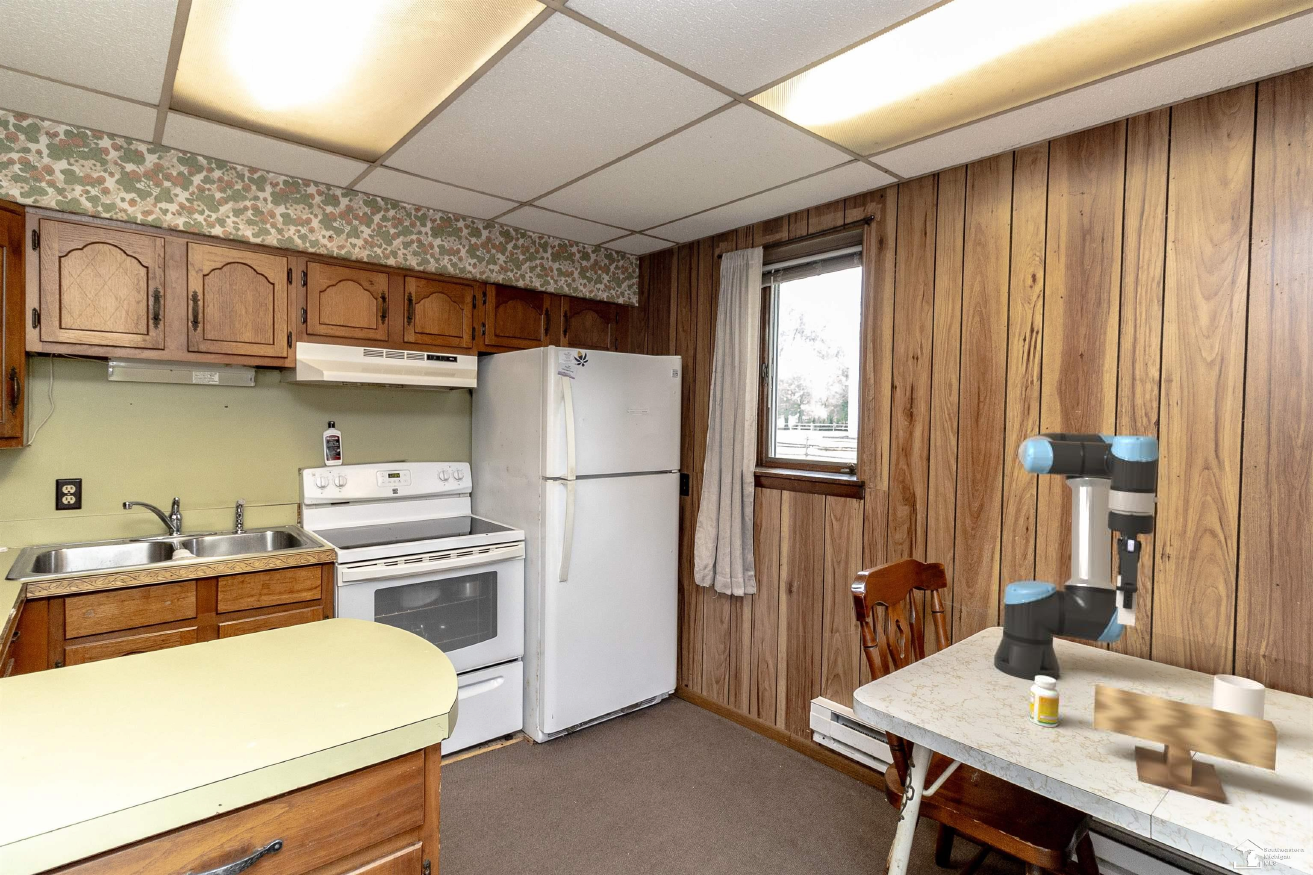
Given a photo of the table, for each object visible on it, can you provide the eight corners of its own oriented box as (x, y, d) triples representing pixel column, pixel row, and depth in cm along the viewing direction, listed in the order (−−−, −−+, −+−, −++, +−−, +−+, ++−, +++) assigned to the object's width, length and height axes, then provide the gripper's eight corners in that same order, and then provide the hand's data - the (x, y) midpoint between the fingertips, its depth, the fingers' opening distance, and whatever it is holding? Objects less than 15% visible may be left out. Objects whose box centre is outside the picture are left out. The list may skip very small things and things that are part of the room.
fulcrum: (1138, 780, 119) (1140, 747, 119) (1134, 750, 131) (1136, 720, 131) (1224, 803, 113) (1226, 769, 113) (1212, 770, 124) (1214, 738, 124)
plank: (1093, 727, 127) (1095, 691, 127) (1093, 718, 131) (1095, 684, 131) (1275, 770, 113) (1277, 730, 113) (1269, 760, 116) (1271, 721, 116)
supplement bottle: (1023, 719, 144) (1025, 675, 144) (1039, 715, 146) (1041, 672, 146) (1047, 729, 139) (1049, 684, 139) (1063, 725, 141) (1065, 681, 141)
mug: (1201, 719, 147) (1204, 666, 147) (1251, 729, 143) (1254, 674, 143) (1215, 740, 137) (1218, 683, 137) (1269, 751, 133) (1273, 693, 133)
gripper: (1159, 522, 120) (1151, 636, 121) (1150, 506, 141) (1144, 604, 142) (1109, 517, 124) (1102, 627, 125) (1107, 503, 145) (1102, 597, 146)
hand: (1124, 615), depth 134 cm, fingers open, 13 cm apart
